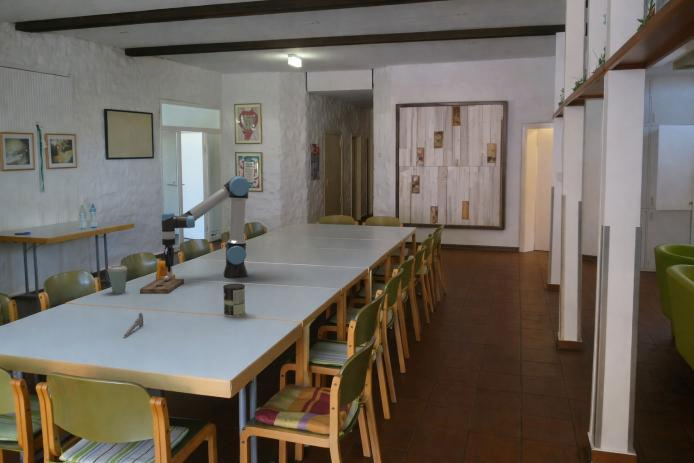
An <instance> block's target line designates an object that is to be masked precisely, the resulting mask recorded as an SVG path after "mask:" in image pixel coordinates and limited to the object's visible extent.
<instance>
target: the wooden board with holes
mask: <svg viewBox="0 0 694 463" xmlns="http://www.w3.org/2000/svg"><path fill="white" fill-rule="evenodd" d="M183 284H185V278H174V279H169V281H164V279H156V278H155V280H153V281H151V282H149V283H148V284H145V285H144V286H143V287H141V288H139V294H154V295H155V294H159V295H160V294H161V295H162V294H165V295H166V294H170V293H171V292H173V291H174V290H175V289H177V288H178V287H180V286H182V285H183Z"/></svg>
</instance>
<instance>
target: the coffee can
mask: <svg viewBox="0 0 694 463" xmlns="http://www.w3.org/2000/svg"><path fill="white" fill-rule="evenodd" d="M245 287H246V285H245V284H243V283H228V284H225V285H223V286H222V288H223V315H224V317H228V318H237V317H238V318H239V317H242V316H245V315H246V303H245V302H246V301H245V300H246V298H245V297H246V294H245V293H246V292H245V291H246V290H245V289H246V288H245Z"/></svg>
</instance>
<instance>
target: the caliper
mask: <svg viewBox="0 0 694 463" xmlns="http://www.w3.org/2000/svg"><path fill="white" fill-rule="evenodd" d="M143 326H144V316H143V313H142V312H140V313H139V314H138V316H137V318H136V319H135V320H134V323H133V324H132V325H131V326H130V327H129V329H128V330H127V331H126V332H125V333H124V335H123V339H126V338H128V337H129V336H130V335H131V333H132V332H133V331H134V330H135V329H136V327H143Z"/></svg>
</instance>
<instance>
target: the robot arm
mask: <svg viewBox="0 0 694 463" xmlns="http://www.w3.org/2000/svg"><path fill="white" fill-rule="evenodd" d="M249 190H250V183H249V180H248V179H247V178H246V177H245V176H243V175H235V176H233V177H232V178H230V180H228V181H227V182H226V183H225V184H223V185H222V187H221V188H220V189H219V190H217V191H216V192H214V193H212V194H211V195H210V196H208V197H207V198H205V199H203V201H201V202H199V203H198V204H196V205H195V206H194V207H192V208H190V209H189V210H188V211H186V212H184V213H183V214H181V215H175V213H174V212H162V214H161V221H160V222H161V238H162V239H161V242H162V243H161V244H162V246H164V250H163V254H164V255H163V256H164V261H165V264H166V266H167V276H169V277H173V267H174V266H175V264H174V261H175V260H174V259H175V258H174V257H175V247H173V246H175V245H176V230H175V229H194V228H196V221H197V220H198V219H200V218H202V217H203V216H204V215H206V214H208V213H209V212H211V211H212V210H214V209H215V208H217V207H218V206H220V205H221V204H222V203H224V202H226V201H227V200H228V199H229V200H230V202H231V204H230V223H229V239H228V240H227V241H226V242H225V245H224V246H225V267H224V270H223V278H226V279H240V278H245V277H247V276H248V271H247V268H246V265H245V260H246V258H247V242H246V240H245V219H246V201H247V200H249Z"/></svg>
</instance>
